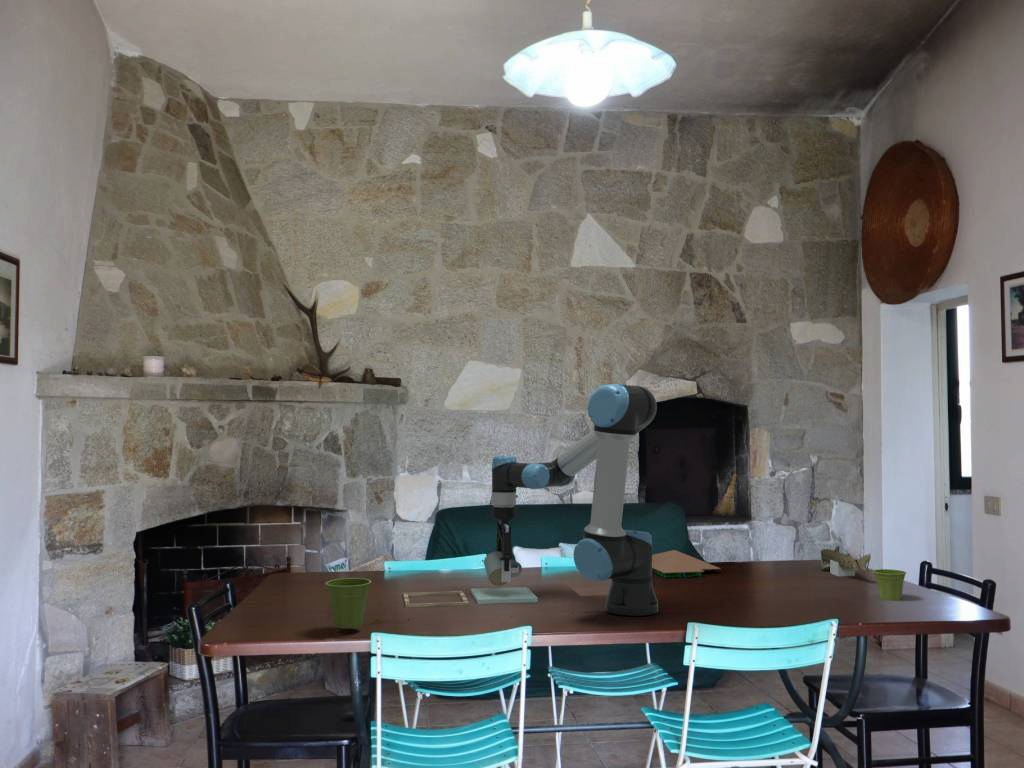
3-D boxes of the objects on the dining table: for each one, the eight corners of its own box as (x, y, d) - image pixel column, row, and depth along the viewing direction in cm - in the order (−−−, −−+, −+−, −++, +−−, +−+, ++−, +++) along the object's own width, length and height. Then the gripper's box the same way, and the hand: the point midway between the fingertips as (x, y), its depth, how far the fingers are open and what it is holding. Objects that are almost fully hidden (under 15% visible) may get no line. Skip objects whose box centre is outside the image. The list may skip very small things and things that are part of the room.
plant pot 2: (874, 601, 265) (873, 572, 265) (872, 596, 274) (872, 568, 274) (908, 604, 262) (907, 574, 262) (905, 598, 271) (905, 570, 271)
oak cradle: (469, 605, 257) (469, 602, 257) (405, 607, 254) (405, 604, 254) (462, 593, 275) (462, 591, 275) (403, 595, 272) (403, 592, 272)
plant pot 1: (330, 619, 237) (331, 577, 237) (374, 620, 236) (375, 578, 237) (319, 629, 225) (320, 585, 226) (365, 630, 225) (366, 585, 225)
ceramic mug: (493, 590, 268) (485, 573, 264) (487, 573, 275) (480, 555, 271) (525, 578, 268) (519, 560, 264) (519, 561, 275) (513, 543, 271)
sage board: (537, 602, 262) (537, 598, 262) (477, 603, 259) (477, 599, 259) (527, 591, 280) (527, 587, 280) (470, 592, 277) (470, 588, 277)
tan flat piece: (688, 565, 337) (688, 544, 337) (726, 580, 305) (726, 556, 305) (631, 567, 332) (631, 545, 333) (664, 582, 300) (663, 558, 300)
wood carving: (856, 589, 286) (856, 554, 287) (811, 571, 321) (811, 540, 322) (883, 588, 287) (882, 554, 288) (835, 571, 322) (835, 540, 322)
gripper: (522, 509, 260) (521, 585, 259) (510, 502, 283) (509, 572, 281) (497, 509, 259) (496, 585, 258) (487, 502, 281) (486, 572, 280)
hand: (503, 578), depth 270 cm, fingers closed on ceramic mug, 10 cm apart
